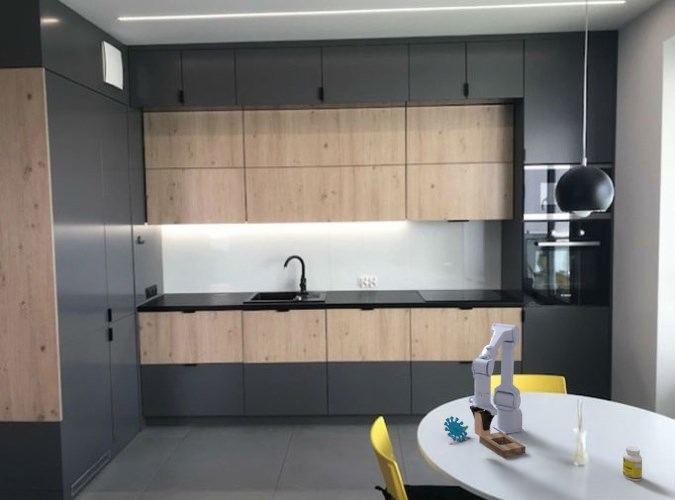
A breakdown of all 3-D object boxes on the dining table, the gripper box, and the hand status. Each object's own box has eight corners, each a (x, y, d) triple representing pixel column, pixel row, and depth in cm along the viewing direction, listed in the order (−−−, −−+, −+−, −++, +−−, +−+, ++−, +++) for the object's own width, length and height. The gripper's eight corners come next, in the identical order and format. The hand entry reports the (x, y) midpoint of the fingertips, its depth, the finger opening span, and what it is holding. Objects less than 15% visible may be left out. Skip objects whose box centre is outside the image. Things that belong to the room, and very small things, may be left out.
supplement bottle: (619, 473, 169) (619, 445, 169) (634, 472, 170) (635, 444, 169) (630, 481, 164) (630, 452, 163) (645, 481, 164) (646, 451, 164)
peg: (483, 431, 188) (483, 410, 187) (490, 435, 184) (490, 414, 184) (474, 432, 186) (474, 411, 186) (481, 437, 183) (481, 415, 182)
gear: (450, 440, 193) (442, 415, 199) (443, 446, 196) (435, 422, 203) (474, 439, 197) (465, 415, 203) (466, 445, 201) (457, 421, 207)
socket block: (500, 438, 198) (500, 431, 198) (525, 453, 185) (525, 446, 185) (479, 442, 195) (479, 435, 195) (503, 457, 182) (503, 450, 181)
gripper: (461, 386, 190) (461, 422, 191) (485, 399, 176) (485, 437, 177) (477, 384, 192) (477, 419, 193) (502, 396, 179) (502, 434, 179)
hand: (482, 427), depth 185 cm, fingers closed on peg, 4 cm apart
